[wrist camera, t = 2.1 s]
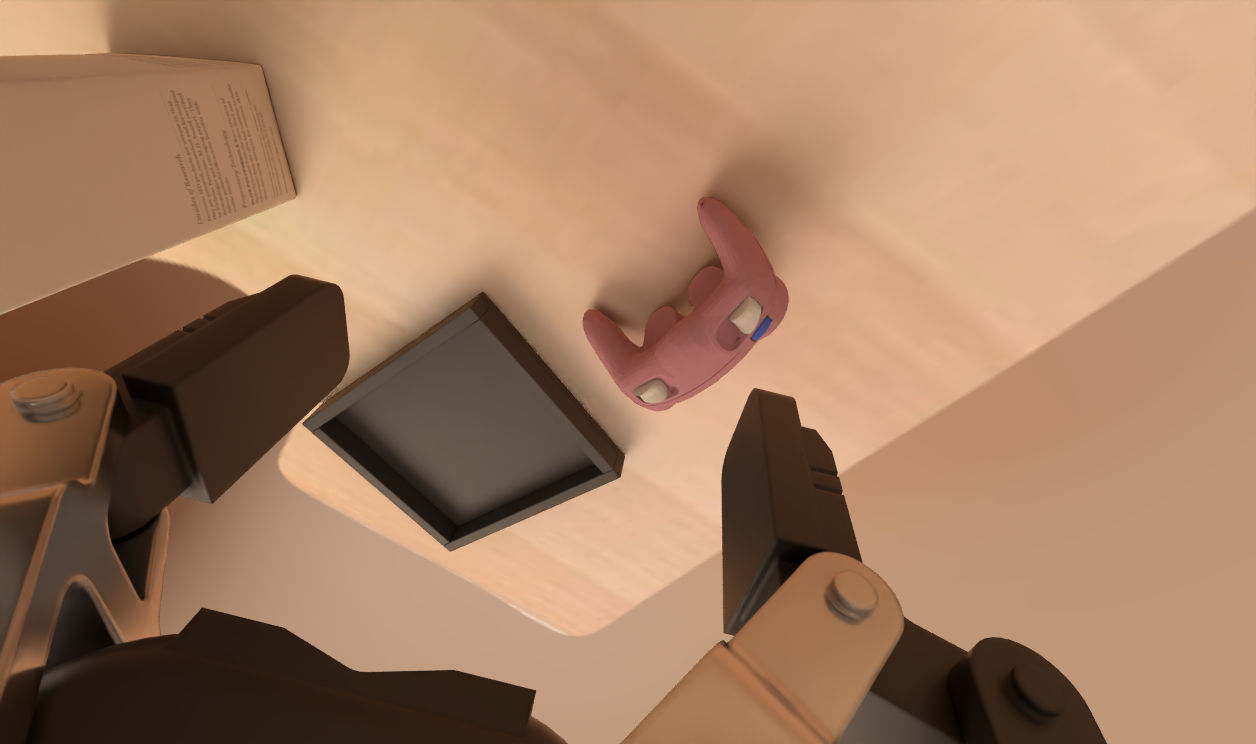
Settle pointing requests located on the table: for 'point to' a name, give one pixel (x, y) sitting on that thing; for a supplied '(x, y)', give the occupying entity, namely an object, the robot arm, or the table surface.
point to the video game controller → (697, 321)
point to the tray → (468, 429)
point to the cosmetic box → (125, 162)
